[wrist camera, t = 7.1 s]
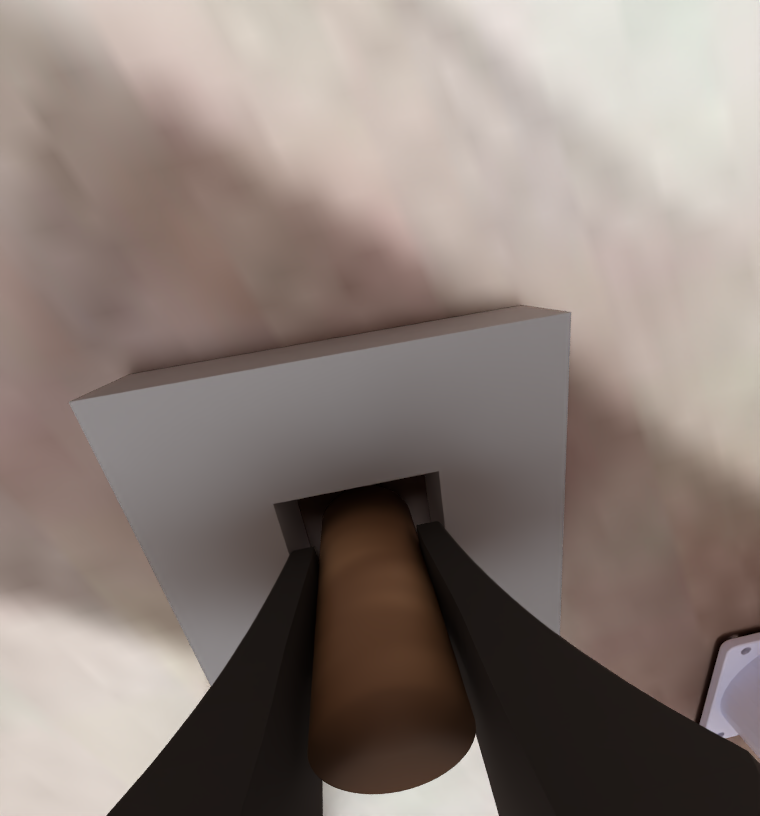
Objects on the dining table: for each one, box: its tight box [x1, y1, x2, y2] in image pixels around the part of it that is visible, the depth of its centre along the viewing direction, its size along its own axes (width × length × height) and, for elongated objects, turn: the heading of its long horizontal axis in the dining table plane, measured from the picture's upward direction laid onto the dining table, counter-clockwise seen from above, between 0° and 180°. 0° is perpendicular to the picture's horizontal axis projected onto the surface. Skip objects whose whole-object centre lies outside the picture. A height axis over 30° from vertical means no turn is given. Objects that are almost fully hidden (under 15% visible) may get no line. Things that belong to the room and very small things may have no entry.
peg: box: [307, 486, 476, 794], centre depth 9 cm, size 3×3×6 cm
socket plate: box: [69, 305, 571, 686], centre depth 12 cm, size 12×12×2 cm
